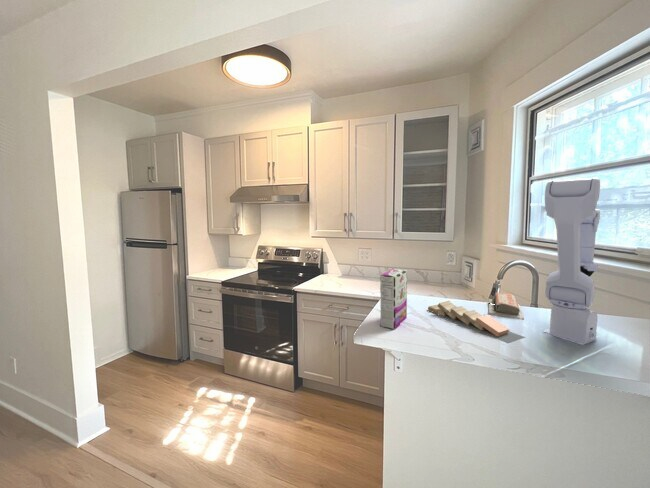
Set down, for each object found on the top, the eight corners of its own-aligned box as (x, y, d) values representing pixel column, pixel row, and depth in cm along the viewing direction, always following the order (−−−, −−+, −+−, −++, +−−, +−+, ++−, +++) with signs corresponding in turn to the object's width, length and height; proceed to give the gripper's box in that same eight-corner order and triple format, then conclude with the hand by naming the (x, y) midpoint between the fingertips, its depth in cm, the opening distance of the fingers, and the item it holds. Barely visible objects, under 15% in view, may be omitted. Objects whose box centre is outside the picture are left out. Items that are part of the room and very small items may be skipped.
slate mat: (525, 338, 80) (525, 337, 80) (507, 344, 76) (507, 343, 76) (452, 312, 101) (452, 311, 101) (435, 316, 98) (435, 314, 98)
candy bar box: (392, 315, 98) (393, 268, 96) (406, 318, 95) (408, 269, 94) (379, 326, 89) (379, 274, 87) (394, 330, 86) (395, 276, 84)
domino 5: (509, 329, 82) (487, 314, 88) (498, 332, 80) (476, 317, 85) (507, 333, 83) (486, 318, 88) (497, 336, 80) (475, 321, 86)
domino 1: (454, 309, 98) (438, 304, 105) (444, 311, 96) (428, 306, 102) (454, 313, 98) (438, 308, 105) (444, 315, 96) (428, 310, 103)
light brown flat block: (494, 323, 86) (474, 310, 92) (483, 326, 84) (463, 312, 90) (492, 327, 87) (472, 313, 92) (481, 330, 84) (462, 316, 90)
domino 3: (480, 318, 90) (461, 306, 96) (469, 321, 88) (451, 308, 94) (478, 322, 91) (460, 309, 96) (468, 325, 88) (450, 312, 94)
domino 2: (465, 313, 95) (448, 300, 100) (455, 316, 92) (438, 303, 98) (464, 316, 95) (447, 303, 101) (454, 319, 93) (437, 306, 98)
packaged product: (489, 290, 113) (519, 293, 108) (488, 302, 113) (518, 306, 109) (489, 303, 97) (525, 307, 92) (488, 316, 98) (524, 322, 93)
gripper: (556, 243, 97) (553, 283, 99) (578, 248, 84) (574, 294, 85) (581, 244, 95) (578, 284, 97) (608, 249, 82) (604, 296, 83)
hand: (578, 289), depth 91 cm, fingers closed
